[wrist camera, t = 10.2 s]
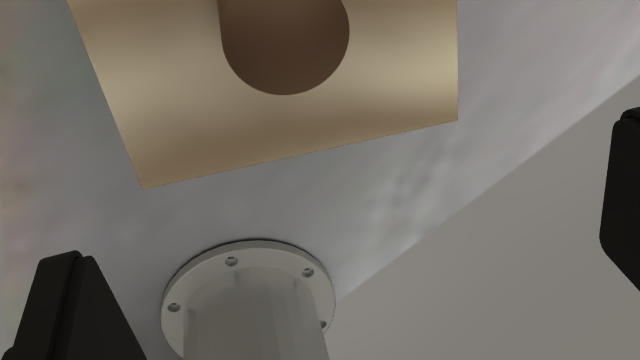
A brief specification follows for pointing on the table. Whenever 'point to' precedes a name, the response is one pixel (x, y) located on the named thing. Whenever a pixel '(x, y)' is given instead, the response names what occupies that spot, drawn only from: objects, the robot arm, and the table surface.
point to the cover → (266, 76)
